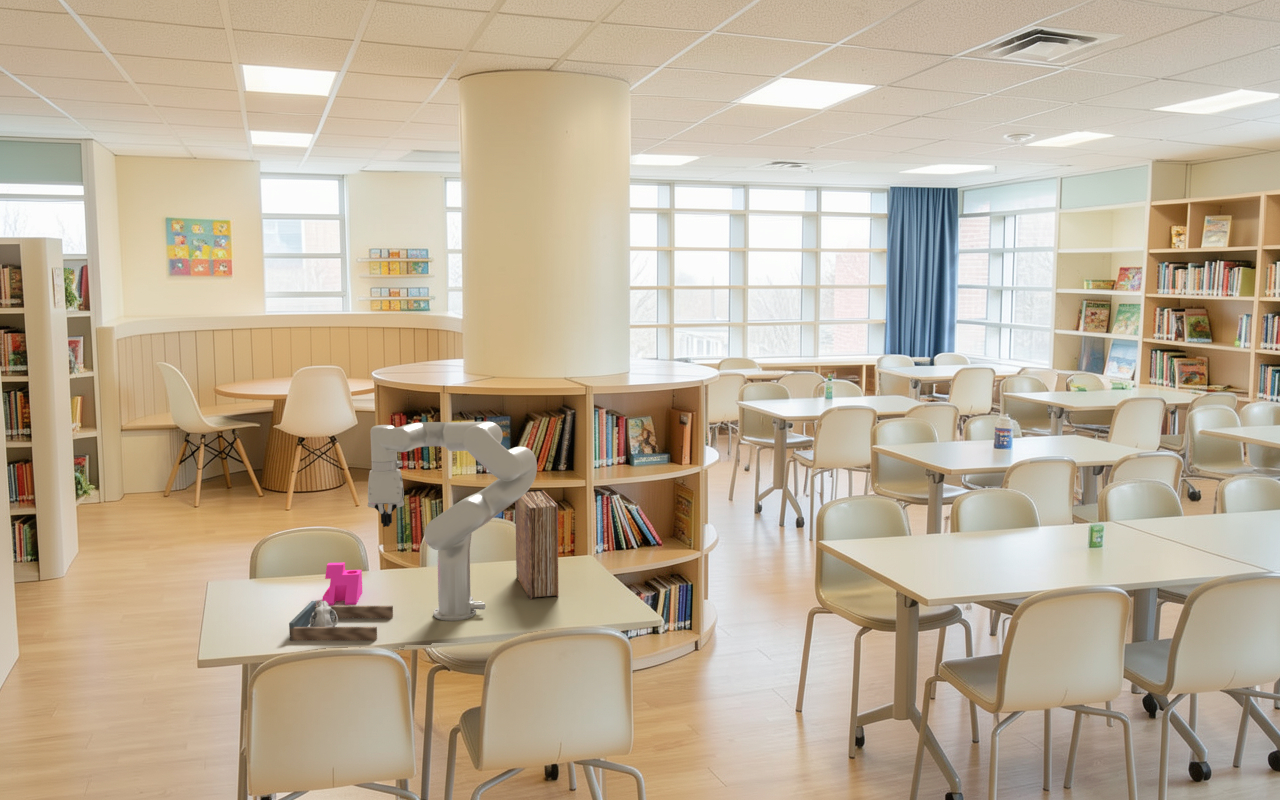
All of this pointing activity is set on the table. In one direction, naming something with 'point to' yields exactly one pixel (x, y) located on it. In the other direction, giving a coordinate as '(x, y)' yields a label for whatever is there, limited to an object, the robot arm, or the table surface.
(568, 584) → the table surface
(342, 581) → the bracket
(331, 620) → the skull
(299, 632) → the bay
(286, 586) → the table surface
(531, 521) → the book
